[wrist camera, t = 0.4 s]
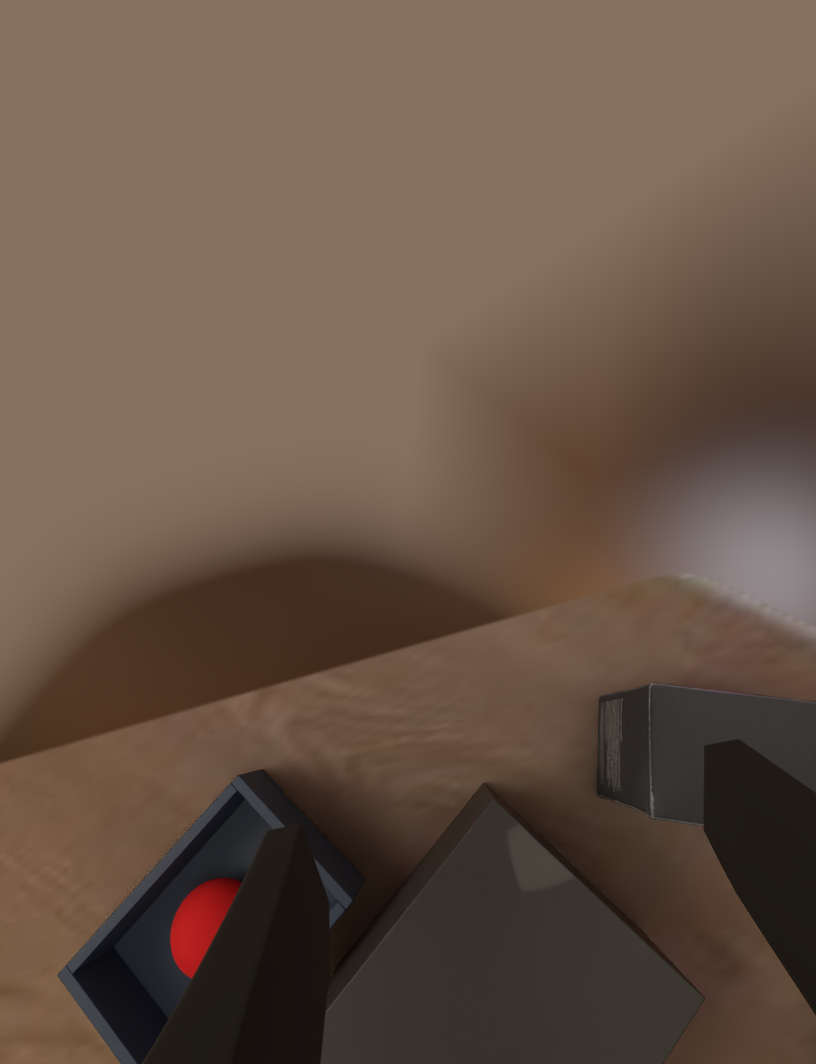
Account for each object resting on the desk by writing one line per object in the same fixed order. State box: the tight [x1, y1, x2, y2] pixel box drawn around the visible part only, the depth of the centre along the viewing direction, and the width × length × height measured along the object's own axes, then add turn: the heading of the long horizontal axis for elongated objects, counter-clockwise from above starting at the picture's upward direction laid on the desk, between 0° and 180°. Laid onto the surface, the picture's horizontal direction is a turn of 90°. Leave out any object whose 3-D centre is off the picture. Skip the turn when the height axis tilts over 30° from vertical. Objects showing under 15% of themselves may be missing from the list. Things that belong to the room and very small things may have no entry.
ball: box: [170, 878, 242, 979], centre depth 32 cm, size 5×5×5 cm
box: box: [58, 770, 365, 1064], centre depth 33 cm, size 13×9×5 cm
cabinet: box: [321, 783, 705, 1064], centre depth 30 cm, size 13×12×8 cm
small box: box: [597, 683, 816, 827], centre depth 31 cm, size 11×6×10 cm, turn 83°
